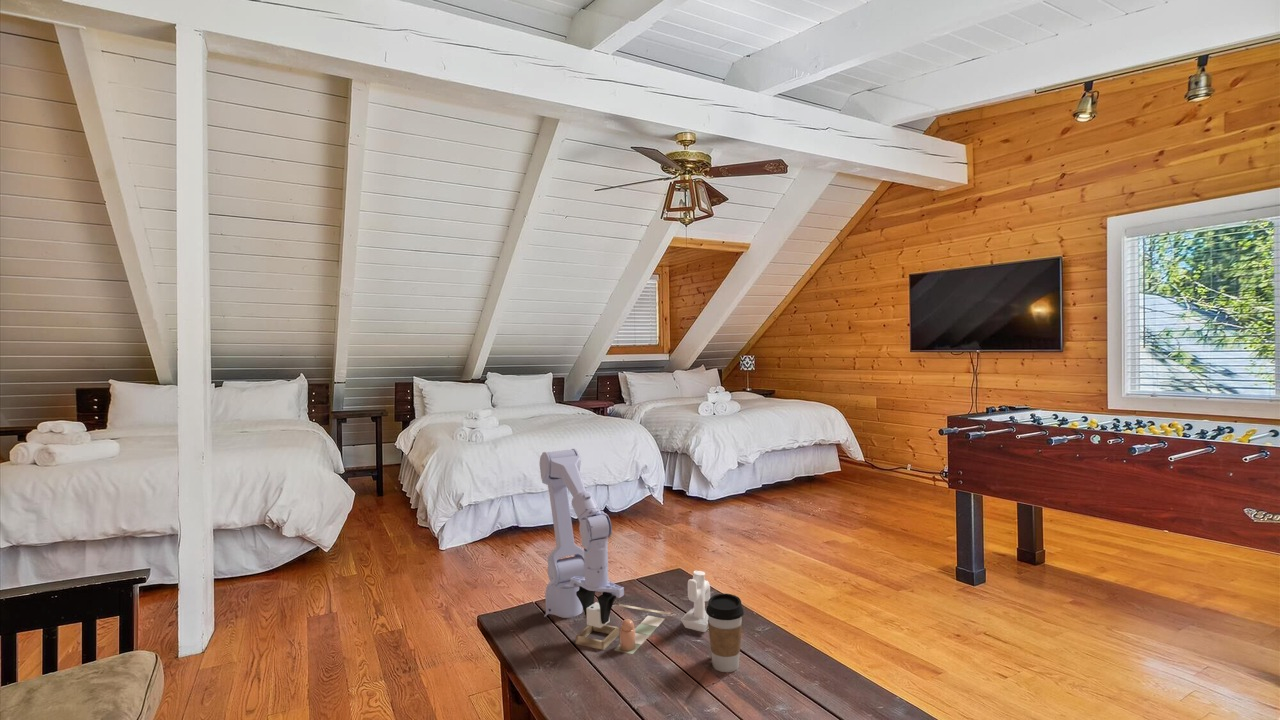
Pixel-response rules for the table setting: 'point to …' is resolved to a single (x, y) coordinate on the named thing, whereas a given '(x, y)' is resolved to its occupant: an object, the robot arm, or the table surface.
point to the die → (594, 616)
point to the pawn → (627, 635)
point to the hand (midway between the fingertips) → (597, 620)
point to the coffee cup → (725, 631)
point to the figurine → (697, 603)
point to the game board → (614, 632)
